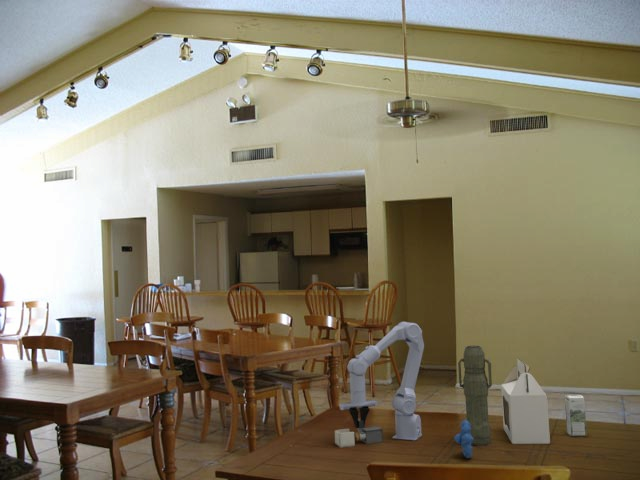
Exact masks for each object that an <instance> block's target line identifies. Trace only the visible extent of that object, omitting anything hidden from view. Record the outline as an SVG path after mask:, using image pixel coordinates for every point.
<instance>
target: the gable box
mask: <svg viewBox="0 0 640 480" xmlns="http://www.w3.org/2000/svg"><path fill="white" fill-rule="evenodd" d="M516 360H517V361H516V362H517V363H516V364H517V365H514V366H513V367H511V370H510V371H509V372H508V374H507V376H506V378H505V379H504V381H503V382H502V383H501V385H500V386H501V403H502V422H503V423H502V424H503V430H504V433H506V435H507V437H508V439H509V440H510V443H511V444H512V445H524V444H525V445H546V444H547V445H549V444H551V437H550V421H549V420H550V419H549V405H548V394H547V393H546V392H545V391H544V390H543V388H542V387H541V386H540V384H539V383H538V381H537V380H536V379H535V377H534V376H533V375H532V374H531V373H530V370H531V367H530V366H529V365H528V364H526V363H525V362H524V361H523V360H521V359H520V358H517V359H516Z"/></svg>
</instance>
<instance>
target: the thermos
mask: <svg viewBox="0 0 640 480" xmlns="http://www.w3.org/2000/svg"><path fill="white" fill-rule="evenodd" d="M485 357H486V356H485V352H484V350H483V347H482V346H480V345H467V346H466V347H465V348H464V351H463V358H460V359H459V361H458V363H457V365H458V366H457V367H458V380H459V387H460V388H462V389H463V395H464V398H465V413H466V420H467V421H468V422H469V423H470V424H471V425H470V428H471V431H470V434H471V436H472V437H473V438H474V440H473V441H472V442H471V446H487V445H491V444H492V440H491V439H492V438H491V436H492V431H491V428H492V427H491V425H490V422H489V403H488V396H489V389H490V388H491V387H492V386H493V383H492V382H493V381H492V363H491V361H490V360H489V359H487V358H485ZM461 363H463V368H464V376H463V379H462V369H461V368H462V367H461V366H462V364H461ZM486 363H487V368H488V369H487V370H488V377H487V375H486ZM462 381H463V383H462Z"/></svg>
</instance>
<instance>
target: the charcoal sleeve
mask: <svg viewBox="0 0 640 480" xmlns="http://www.w3.org/2000/svg"><path fill="white" fill-rule="evenodd" d="M362 432H366V440H361V441H362V442H364V443H365V444H366V445H367V444H369V445H370V444H376V443H383V442H384V440H383V439H384V438H383V437H384V435H383V428H382V427H380V426H379V425H377V426H376V425H375V426H368V427H364V428H362Z"/></svg>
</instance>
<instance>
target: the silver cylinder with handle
mask: <svg viewBox="0 0 640 480" xmlns="http://www.w3.org/2000/svg"><path fill="white" fill-rule="evenodd" d="M362 428H365V426H364V423H363V420H362V419H361V418H360V417H358V428H357V432H354V440H355V441H357V442H359V441H362V440H366V432H362Z"/></svg>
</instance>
